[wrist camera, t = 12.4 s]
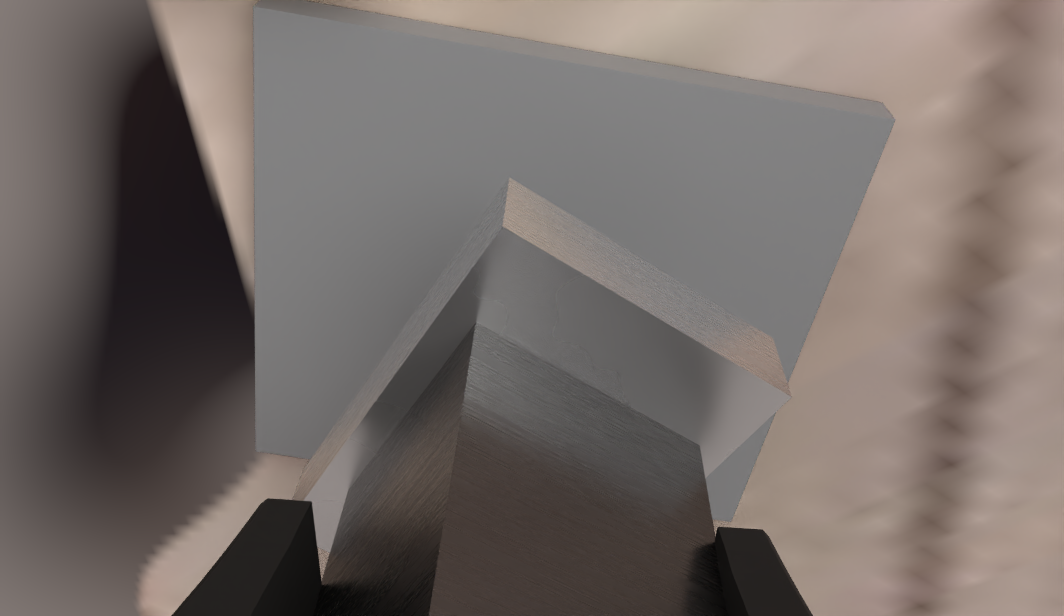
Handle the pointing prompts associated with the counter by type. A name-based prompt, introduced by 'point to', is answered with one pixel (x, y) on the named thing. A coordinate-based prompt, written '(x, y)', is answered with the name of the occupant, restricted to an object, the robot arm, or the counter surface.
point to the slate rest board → (536, 163)
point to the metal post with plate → (540, 435)
